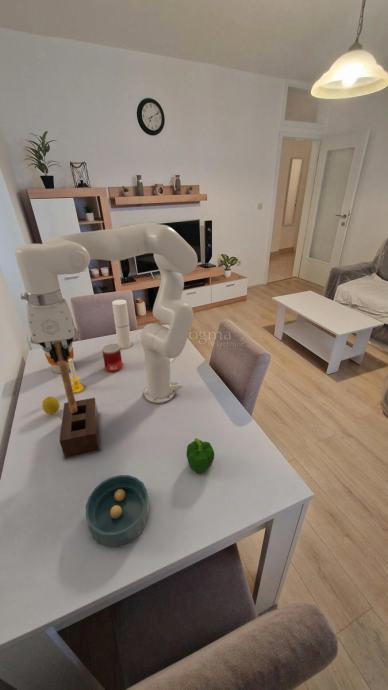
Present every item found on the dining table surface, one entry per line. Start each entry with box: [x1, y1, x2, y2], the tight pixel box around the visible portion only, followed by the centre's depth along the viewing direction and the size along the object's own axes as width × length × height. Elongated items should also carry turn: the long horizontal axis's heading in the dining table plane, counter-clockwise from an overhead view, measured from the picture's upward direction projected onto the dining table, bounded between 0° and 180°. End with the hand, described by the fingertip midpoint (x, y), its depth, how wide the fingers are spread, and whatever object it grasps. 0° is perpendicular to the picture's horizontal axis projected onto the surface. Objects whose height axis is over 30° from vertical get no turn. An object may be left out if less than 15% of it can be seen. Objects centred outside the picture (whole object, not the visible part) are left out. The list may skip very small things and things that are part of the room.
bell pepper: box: [186, 437, 215, 474], centre depth 84 cm, size 8×8×10 cm
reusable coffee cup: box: [41, 340, 74, 374], centre depth 128 cm, size 13×13×15 cm
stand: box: [59, 397, 100, 459], centre depth 94 cm, size 10×18×8 cm, turn 18°
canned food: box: [101, 343, 123, 373], centre depth 129 cm, size 8×8×11 cm
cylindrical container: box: [111, 299, 132, 349], centre depth 145 cm, size 7×7×25 cm
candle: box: [68, 358, 85, 394], centre depth 114 cm, size 5×5×16 cm
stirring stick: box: [53, 340, 77, 413], centre depth 80 cm, size 2×2×24 cm
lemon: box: [41, 395, 60, 415], centre depth 103 cm, size 6×6×8 cm
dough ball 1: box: [114, 489, 125, 501], centre depth 75 cm, size 3×3×3 cm
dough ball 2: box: [110, 505, 122, 519], centre depth 71 cm, size 3×3×3 cm
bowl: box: [85, 474, 150, 548], centre depth 71 cm, size 15×15×6 cm
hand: (61, 359), depth 78 cm, fingers closed on stirring stick, 2 cm apart
